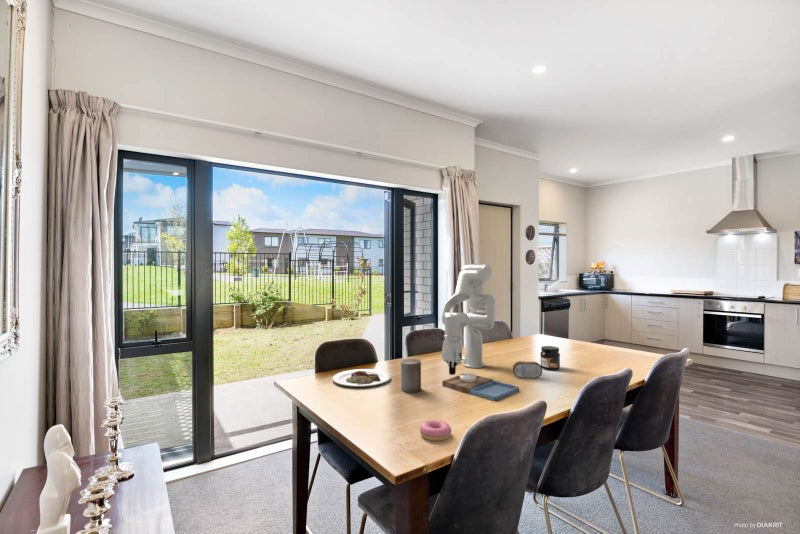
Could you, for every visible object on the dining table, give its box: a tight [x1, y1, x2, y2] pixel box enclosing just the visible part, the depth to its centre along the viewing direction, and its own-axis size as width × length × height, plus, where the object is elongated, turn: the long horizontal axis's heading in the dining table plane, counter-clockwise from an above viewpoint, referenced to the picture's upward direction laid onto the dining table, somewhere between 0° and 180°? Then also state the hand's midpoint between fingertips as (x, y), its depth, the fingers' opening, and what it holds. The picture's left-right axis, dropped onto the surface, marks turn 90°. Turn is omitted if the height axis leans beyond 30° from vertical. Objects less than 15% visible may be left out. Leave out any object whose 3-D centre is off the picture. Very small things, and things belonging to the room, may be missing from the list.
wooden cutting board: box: [441, 374, 494, 395], centre depth 192 cm, size 16×20×2 cm
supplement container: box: [539, 345, 561, 372], centre depth 223 cm, size 10×10×12 cm
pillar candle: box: [400, 358, 422, 394], centre depth 186 cm, size 10×10×15 cm
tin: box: [512, 360, 543, 379], centre depth 205 cm, size 15×3×8 cm, turn 84°
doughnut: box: [419, 419, 452, 442], centre depth 136 cm, size 11×11×4 cm
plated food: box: [332, 368, 391, 388], centre depth 202 cm, size 30×30×3 cm
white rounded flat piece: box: [459, 372, 476, 383], centre depth 192 cm, size 8×8×2 cm
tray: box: [469, 380, 520, 402], centre depth 181 cm, size 14×20×2 cm
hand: (452, 374), depth 199 cm, fingers closed
